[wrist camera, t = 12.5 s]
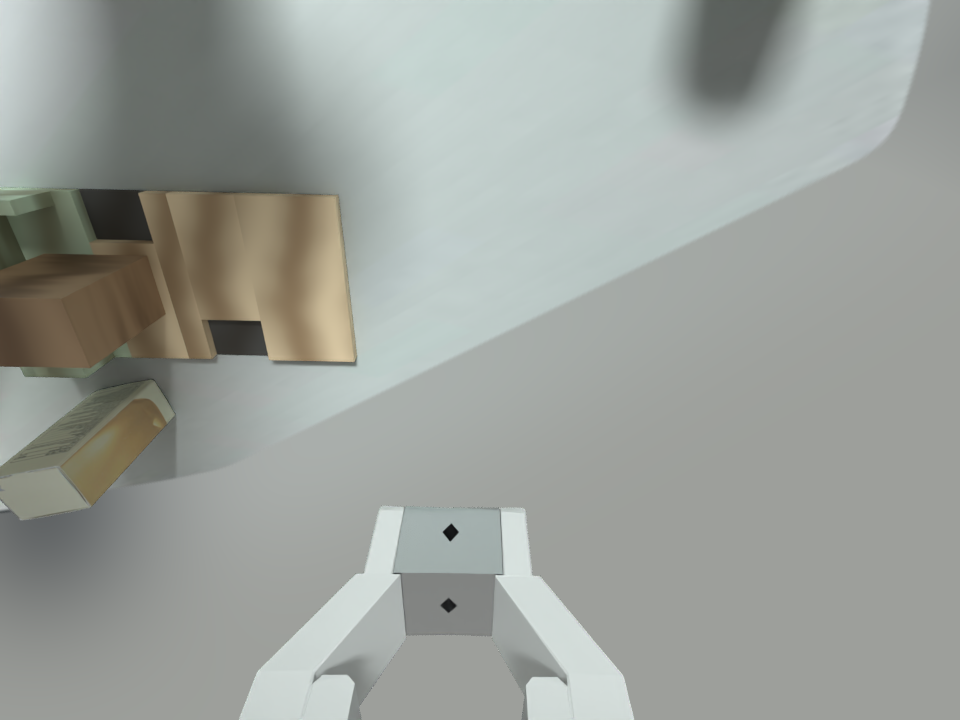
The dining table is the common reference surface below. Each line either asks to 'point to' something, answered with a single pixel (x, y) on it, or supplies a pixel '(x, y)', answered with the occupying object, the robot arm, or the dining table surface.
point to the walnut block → (74, 308)
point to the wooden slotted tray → (203, 267)
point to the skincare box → (84, 451)
